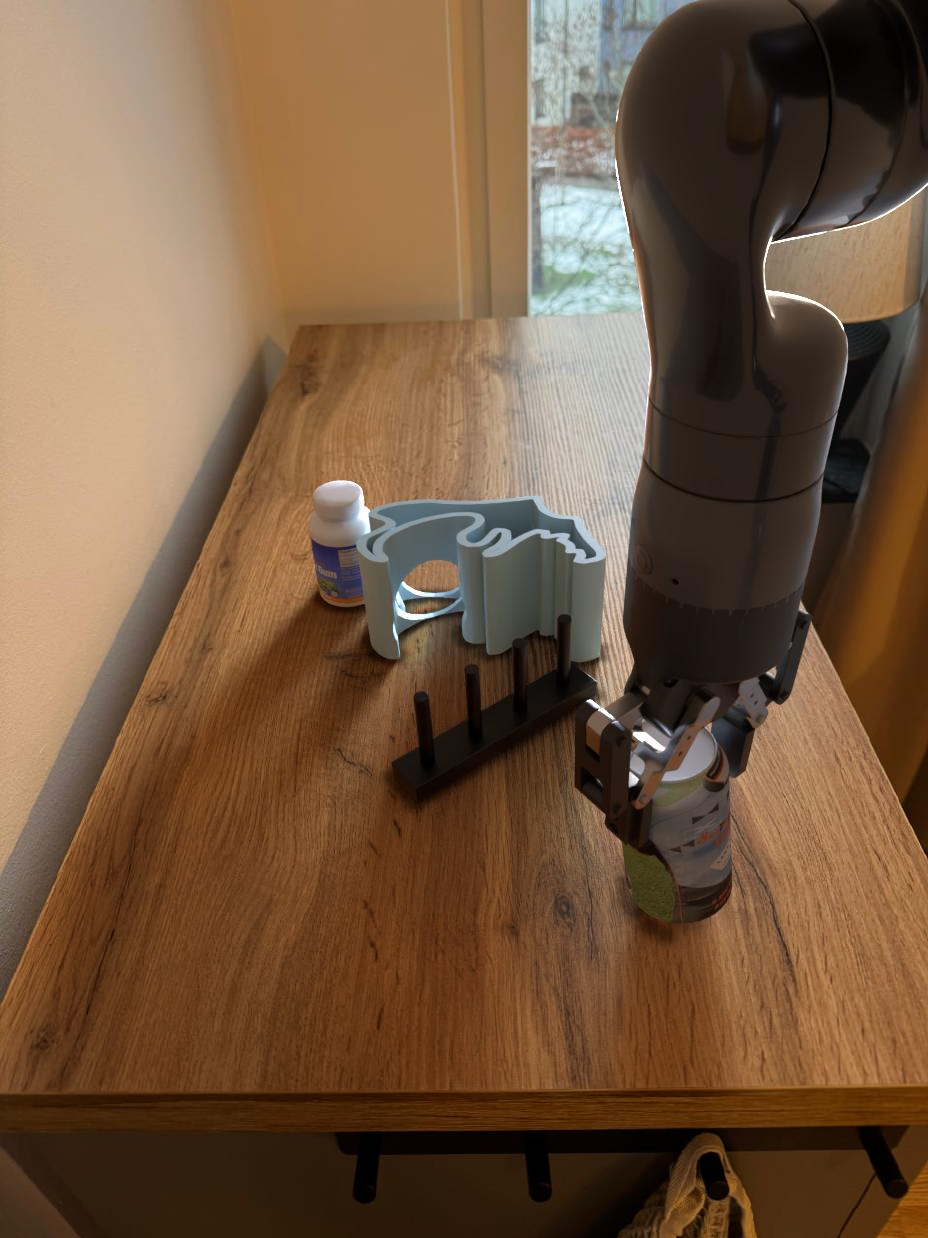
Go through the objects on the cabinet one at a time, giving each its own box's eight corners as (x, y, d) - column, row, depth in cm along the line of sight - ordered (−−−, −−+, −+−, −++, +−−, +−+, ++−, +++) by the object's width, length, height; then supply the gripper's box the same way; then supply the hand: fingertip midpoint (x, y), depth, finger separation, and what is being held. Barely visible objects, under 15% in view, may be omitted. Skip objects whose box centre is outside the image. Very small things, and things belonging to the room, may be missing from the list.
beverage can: (722, 948, 51) (754, 810, 44) (593, 914, 53) (602, 777, 46) (734, 859, 56) (765, 720, 48) (615, 830, 58) (627, 693, 50)
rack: (596, 696, 67) (601, 616, 63) (417, 803, 60) (407, 723, 56) (569, 674, 69) (571, 596, 65) (392, 776, 62) (381, 697, 58)
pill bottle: (309, 584, 80) (291, 488, 74) (365, 564, 82) (352, 468, 76) (335, 617, 76) (318, 518, 70) (393, 595, 78) (381, 497, 72)
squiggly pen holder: (583, 583, 78) (588, 489, 72) (602, 660, 70) (608, 562, 64) (372, 596, 78) (359, 503, 72) (368, 675, 70) (352, 577, 64)
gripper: (664, 667, 34) (632, 921, 44) (895, 525, 40) (819, 777, 51) (532, 574, 39) (532, 823, 49) (757, 461, 45) (714, 703, 55)
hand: (678, 799), depth 50 cm, fingers open, 7 cm apart
